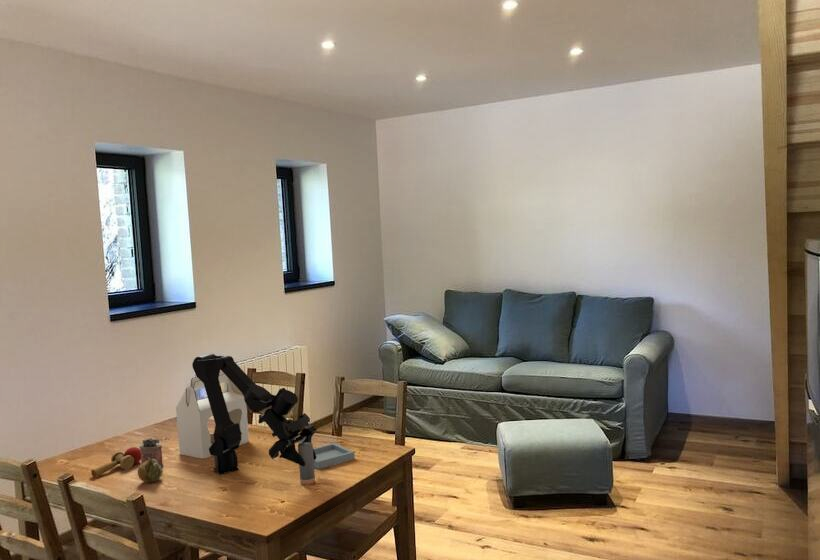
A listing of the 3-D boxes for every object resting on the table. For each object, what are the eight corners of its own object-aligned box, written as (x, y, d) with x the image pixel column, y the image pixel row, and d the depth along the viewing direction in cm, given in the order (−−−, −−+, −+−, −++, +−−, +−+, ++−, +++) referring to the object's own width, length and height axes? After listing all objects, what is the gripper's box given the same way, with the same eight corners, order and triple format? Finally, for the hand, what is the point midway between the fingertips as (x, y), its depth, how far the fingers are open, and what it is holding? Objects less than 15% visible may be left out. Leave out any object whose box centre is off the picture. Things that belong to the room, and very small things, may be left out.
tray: (318, 469, 221) (317, 461, 220) (298, 459, 232) (298, 452, 232) (354, 459, 229) (354, 451, 229) (334, 449, 240) (333, 442, 240)
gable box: (202, 459, 238) (196, 381, 236) (178, 454, 245) (172, 378, 243) (249, 441, 256) (244, 369, 254) (226, 437, 263) (220, 366, 261)
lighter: (139, 468, 232) (136, 440, 231) (145, 465, 235) (142, 437, 234) (159, 469, 230) (157, 440, 229) (165, 465, 233) (163, 437, 232)
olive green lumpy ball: (167, 476, 223) (166, 452, 222) (158, 485, 215) (156, 460, 214) (145, 476, 223) (143, 453, 222) (134, 486, 215) (132, 461, 214)
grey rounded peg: (304, 486, 206) (301, 448, 205) (297, 482, 210) (294, 444, 209) (318, 482, 209) (315, 444, 208) (311, 478, 213) (308, 441, 212)
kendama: (103, 483, 223) (149, 459, 237) (97, 466, 222) (143, 442, 237) (91, 484, 227) (136, 460, 242) (85, 466, 227) (131, 443, 241)
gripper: (273, 415, 201) (306, 455, 197) (309, 400, 218) (340, 436, 214) (254, 439, 206) (286, 478, 201) (291, 422, 222) (321, 458, 218)
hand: (310, 462), depth 208 cm, fingers open, 6 cm apart
